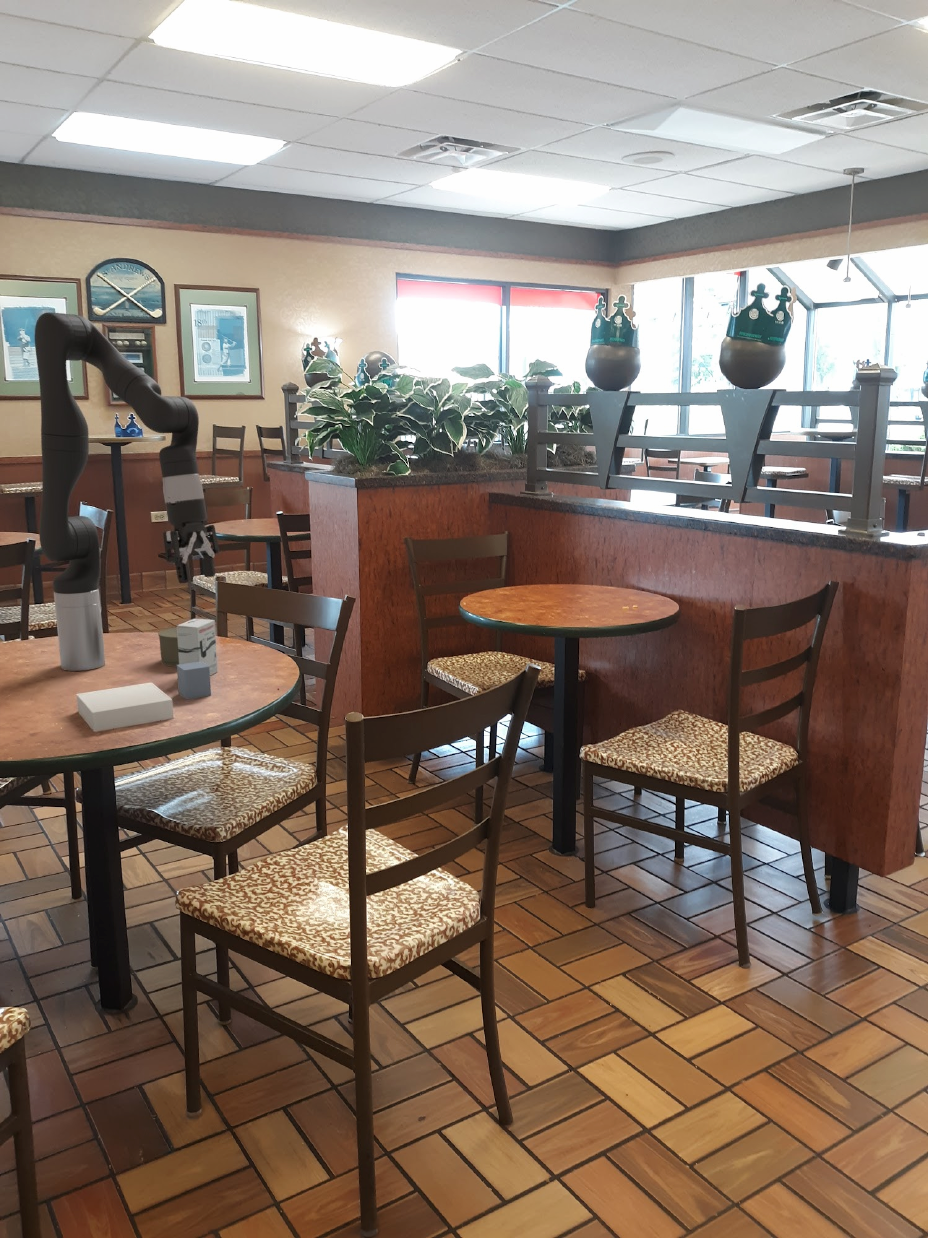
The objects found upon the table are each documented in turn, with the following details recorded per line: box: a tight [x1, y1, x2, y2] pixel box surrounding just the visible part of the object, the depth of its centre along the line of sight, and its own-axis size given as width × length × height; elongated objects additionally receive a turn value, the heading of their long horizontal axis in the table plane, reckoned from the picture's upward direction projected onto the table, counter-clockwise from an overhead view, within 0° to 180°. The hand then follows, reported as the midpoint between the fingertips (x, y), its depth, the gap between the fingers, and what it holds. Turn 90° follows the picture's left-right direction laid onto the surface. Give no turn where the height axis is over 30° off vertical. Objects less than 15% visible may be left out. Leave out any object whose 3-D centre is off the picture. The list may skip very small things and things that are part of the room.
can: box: [157, 626, 179, 668], centre depth 219 cm, size 12×12×7 cm
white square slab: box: [76, 682, 174, 733], centre depth 180 cm, size 14×14×4 cm
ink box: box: [176, 618, 218, 677], centre depth 205 cm, size 9×5×12 cm, turn 168°
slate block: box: [176, 661, 212, 700], centre depth 192 cm, size 5×5×6 cm
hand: (197, 579), depth 193 cm, fingers open, 8 cm apart
